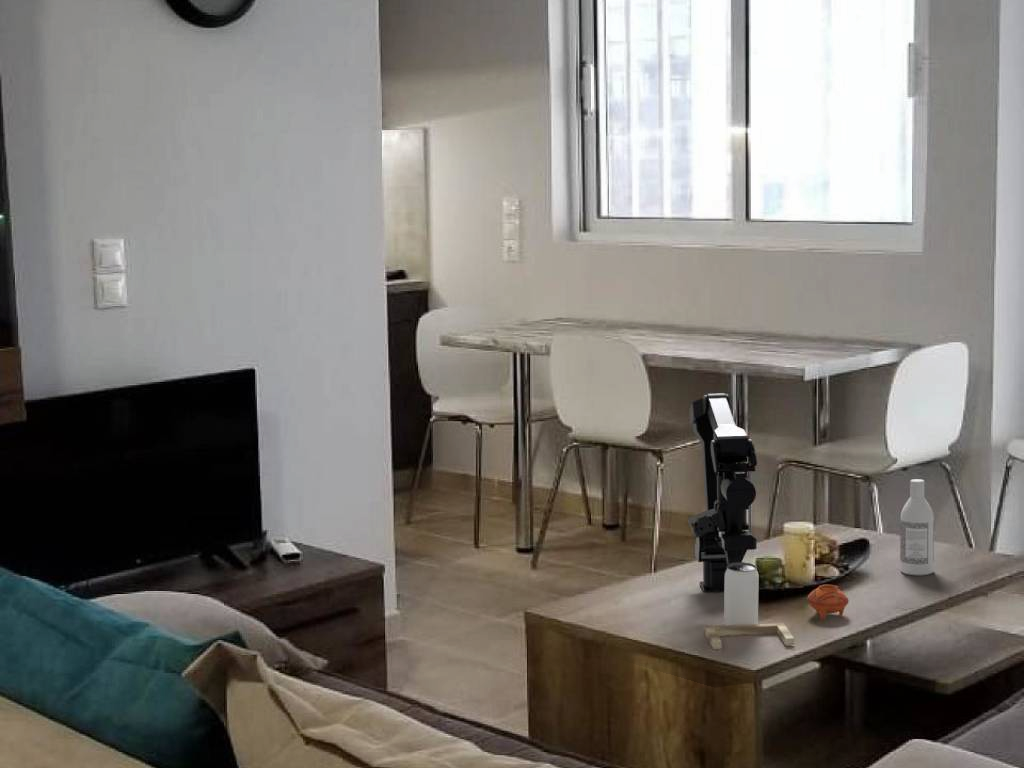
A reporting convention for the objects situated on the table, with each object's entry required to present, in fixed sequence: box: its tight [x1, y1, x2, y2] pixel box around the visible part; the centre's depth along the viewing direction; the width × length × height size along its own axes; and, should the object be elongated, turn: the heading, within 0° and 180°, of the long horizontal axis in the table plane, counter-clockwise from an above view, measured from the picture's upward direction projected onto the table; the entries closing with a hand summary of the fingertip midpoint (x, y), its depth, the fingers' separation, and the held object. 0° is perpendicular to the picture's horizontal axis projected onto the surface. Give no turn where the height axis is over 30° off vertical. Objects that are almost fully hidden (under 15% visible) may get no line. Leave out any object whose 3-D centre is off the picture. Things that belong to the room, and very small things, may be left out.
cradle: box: [704, 622, 795, 650], centre depth 305 cm, size 10×15×2 cm, turn 92°
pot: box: [806, 584, 850, 621], centre depth 319 cm, size 8×8×7 cm
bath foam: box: [899, 478, 935, 576], centre depth 347 cm, size 7×7×20 cm
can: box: [723, 561, 760, 626], centre depth 313 cm, size 6×6×12 cm
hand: (732, 574), depth 321 cm, fingers closed
